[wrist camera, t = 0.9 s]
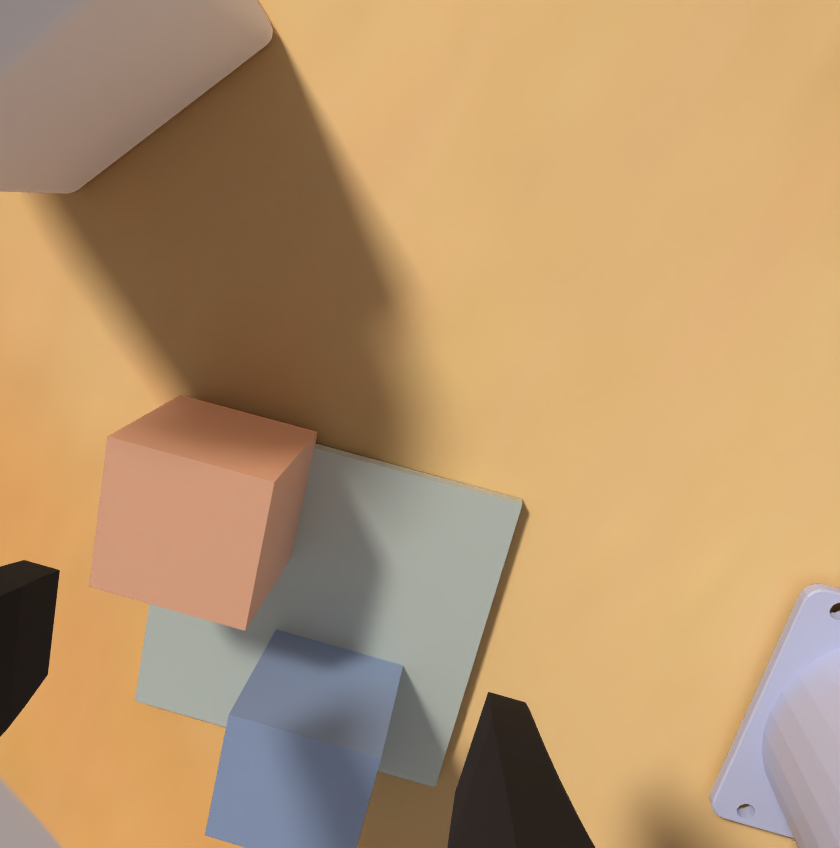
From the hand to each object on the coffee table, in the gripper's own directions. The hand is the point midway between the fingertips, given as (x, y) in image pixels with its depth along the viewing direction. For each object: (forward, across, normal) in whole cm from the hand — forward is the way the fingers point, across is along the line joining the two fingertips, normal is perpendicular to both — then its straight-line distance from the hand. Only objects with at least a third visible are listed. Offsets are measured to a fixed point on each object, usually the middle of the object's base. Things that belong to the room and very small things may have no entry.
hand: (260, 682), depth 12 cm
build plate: (+10, 0, +4) cm, 11 cm away
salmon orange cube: (+10, +4, +1) cm, 10 cm away
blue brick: (+9, 0, +8) cm, 12 cm away
